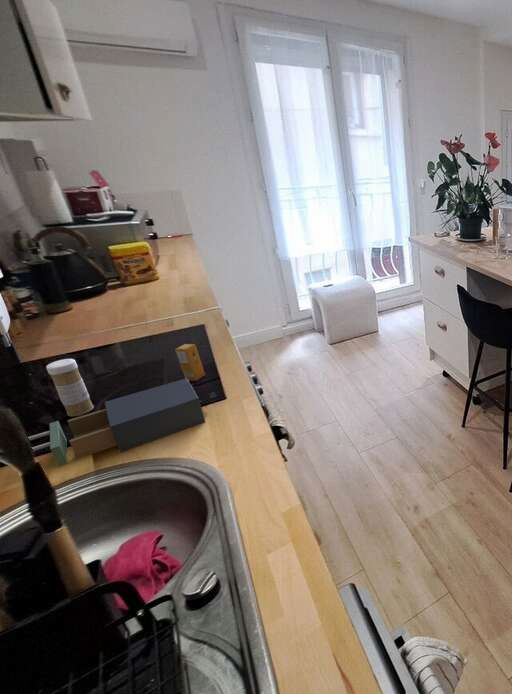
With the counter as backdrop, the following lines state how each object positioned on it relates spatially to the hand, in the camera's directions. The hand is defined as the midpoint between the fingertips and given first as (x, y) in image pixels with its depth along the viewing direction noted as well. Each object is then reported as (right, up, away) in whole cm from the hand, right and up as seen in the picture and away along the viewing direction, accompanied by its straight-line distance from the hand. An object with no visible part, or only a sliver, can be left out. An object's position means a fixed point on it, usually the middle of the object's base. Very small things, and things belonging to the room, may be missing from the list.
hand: (8, 365), depth 77 cm
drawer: (+5, -18, +9) cm, 21 cm away
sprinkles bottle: (-10, -15, +21) cm, 27 cm away
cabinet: (+13, -16, +18) cm, 27 cm away
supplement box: (+5, -9, +37) cm, 38 cm away
